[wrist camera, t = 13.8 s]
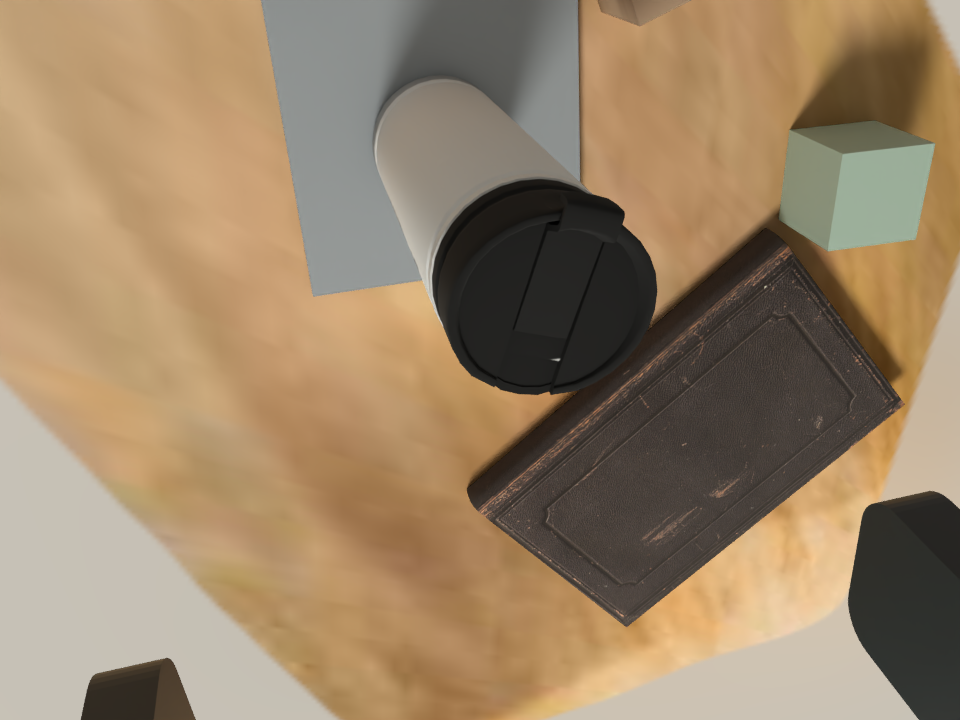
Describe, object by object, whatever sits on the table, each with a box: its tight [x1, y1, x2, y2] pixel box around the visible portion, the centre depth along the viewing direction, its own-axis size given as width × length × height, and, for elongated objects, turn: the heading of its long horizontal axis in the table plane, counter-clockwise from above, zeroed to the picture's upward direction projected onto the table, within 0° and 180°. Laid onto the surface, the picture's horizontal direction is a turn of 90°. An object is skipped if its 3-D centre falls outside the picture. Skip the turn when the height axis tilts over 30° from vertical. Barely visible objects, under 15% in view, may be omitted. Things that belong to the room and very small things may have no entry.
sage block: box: [779, 120, 935, 251], centre depth 46 cm, size 5×5×5 cm
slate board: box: [261, 0, 580, 297], centre depth 42 cm, size 14×14×1 cm
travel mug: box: [372, 75, 657, 395], centre depth 33 cm, size 6×7×20 cm
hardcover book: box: [467, 228, 905, 627], centre depth 54 cm, size 16×23×2 cm
